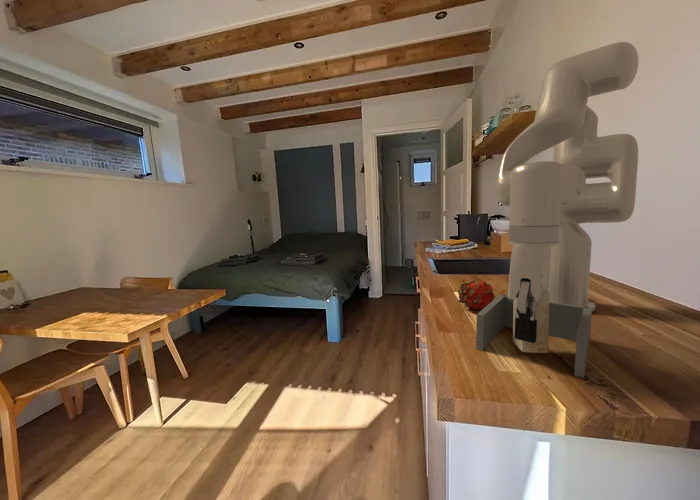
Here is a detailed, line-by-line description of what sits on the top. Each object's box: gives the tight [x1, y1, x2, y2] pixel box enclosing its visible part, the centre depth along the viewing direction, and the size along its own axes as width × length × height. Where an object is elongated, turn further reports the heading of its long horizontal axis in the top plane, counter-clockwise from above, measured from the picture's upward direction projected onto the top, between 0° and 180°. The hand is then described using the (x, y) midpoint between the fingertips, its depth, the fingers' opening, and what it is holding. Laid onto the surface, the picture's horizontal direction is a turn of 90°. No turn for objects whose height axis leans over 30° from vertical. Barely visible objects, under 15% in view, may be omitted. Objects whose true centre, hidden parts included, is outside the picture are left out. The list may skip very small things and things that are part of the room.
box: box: [512, 287, 550, 354], centre depth 53 cm, size 5×4×11 cm
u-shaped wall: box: [475, 294, 593, 379], centre depth 57 cm, size 16×16×7 cm
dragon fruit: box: [457, 279, 496, 311], centre depth 79 cm, size 8×8×12 cm
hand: (529, 332), depth 54 cm, fingers closed on box, 6 cm apart
